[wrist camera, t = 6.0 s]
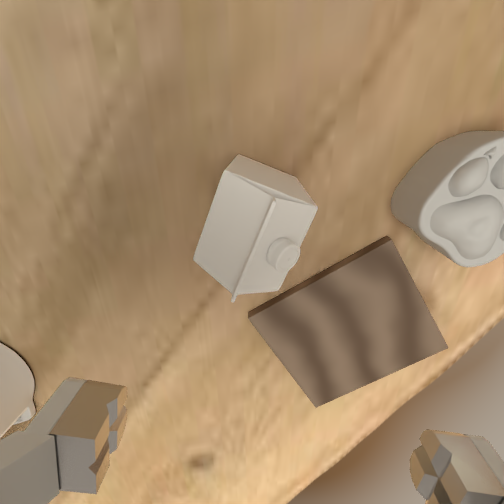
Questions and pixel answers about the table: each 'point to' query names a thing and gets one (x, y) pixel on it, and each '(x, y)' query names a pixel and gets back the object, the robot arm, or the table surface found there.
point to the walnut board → (350, 324)
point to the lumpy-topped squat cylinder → (457, 197)
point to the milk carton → (254, 227)
